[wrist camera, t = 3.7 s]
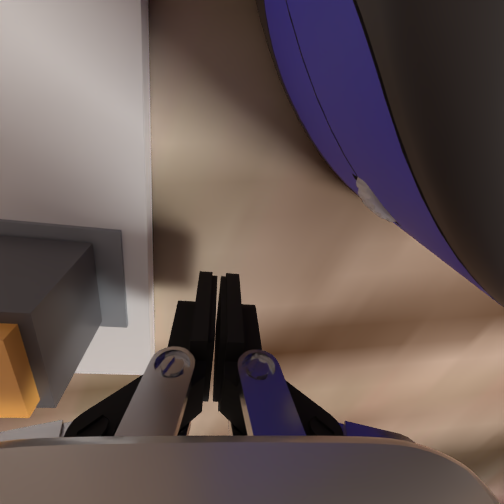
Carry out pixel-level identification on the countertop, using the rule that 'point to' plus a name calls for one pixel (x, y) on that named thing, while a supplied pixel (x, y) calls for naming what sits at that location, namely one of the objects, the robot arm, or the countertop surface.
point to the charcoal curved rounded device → (406, 114)
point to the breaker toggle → (43, 319)
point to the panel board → (84, 154)
